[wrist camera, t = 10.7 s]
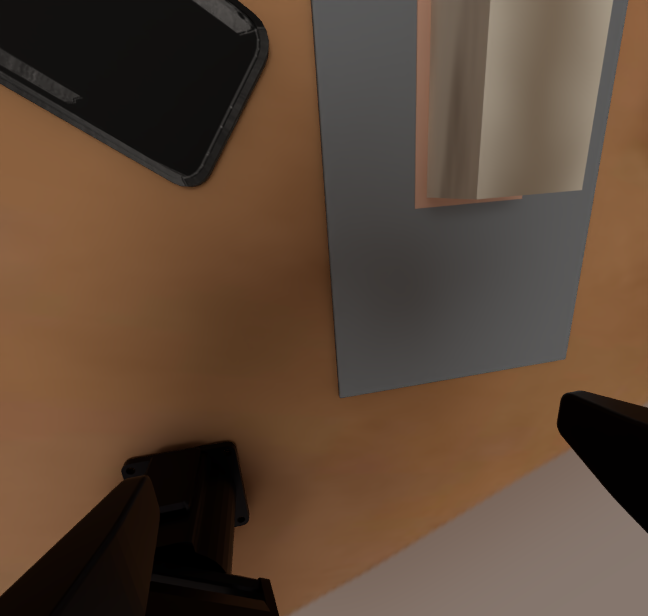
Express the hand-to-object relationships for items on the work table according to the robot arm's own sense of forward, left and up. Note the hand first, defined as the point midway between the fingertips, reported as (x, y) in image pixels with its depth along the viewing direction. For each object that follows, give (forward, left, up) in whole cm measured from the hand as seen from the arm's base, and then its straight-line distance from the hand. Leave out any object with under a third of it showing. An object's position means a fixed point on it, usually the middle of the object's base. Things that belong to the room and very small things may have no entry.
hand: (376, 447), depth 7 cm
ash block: (+10, -10, -12) cm, 18 cm away
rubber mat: (+5, -10, -13) cm, 17 cm away
